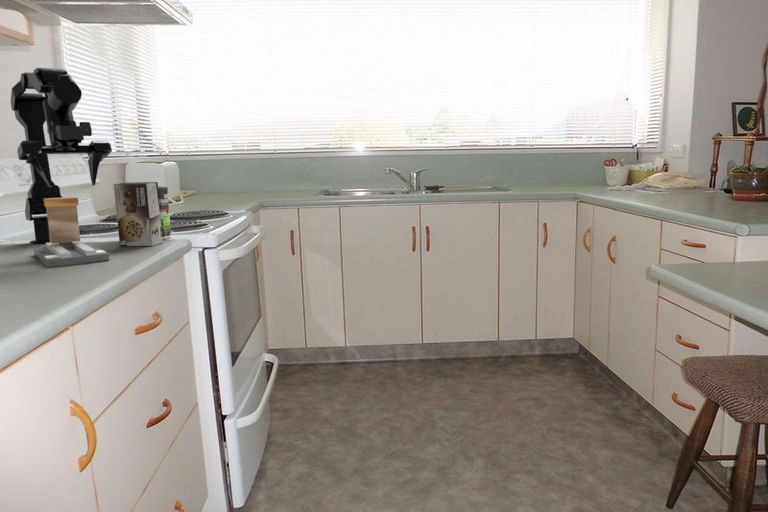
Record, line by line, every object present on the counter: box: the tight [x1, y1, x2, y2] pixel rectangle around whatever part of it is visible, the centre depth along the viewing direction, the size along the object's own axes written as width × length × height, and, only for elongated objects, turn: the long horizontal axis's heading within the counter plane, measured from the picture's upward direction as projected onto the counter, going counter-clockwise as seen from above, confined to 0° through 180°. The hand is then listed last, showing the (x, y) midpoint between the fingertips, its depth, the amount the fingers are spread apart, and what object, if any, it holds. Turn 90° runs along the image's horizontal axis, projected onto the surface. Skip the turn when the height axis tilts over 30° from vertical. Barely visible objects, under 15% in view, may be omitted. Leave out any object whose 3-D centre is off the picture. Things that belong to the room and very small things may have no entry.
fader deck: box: [33, 240, 110, 268], centre depth 138 cm, size 20×12×3 cm, turn 37°
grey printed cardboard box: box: [112, 181, 164, 247], centre depth 155 cm, size 9×6×16 cm
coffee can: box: [158, 186, 172, 240], centre depth 166 cm, size 10×10×14 cm
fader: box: [44, 196, 81, 248], centre depth 141 cm, size 4×7×12 cm, turn 127°
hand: (72, 185), depth 138 cm, fingers open, 9 cm apart
